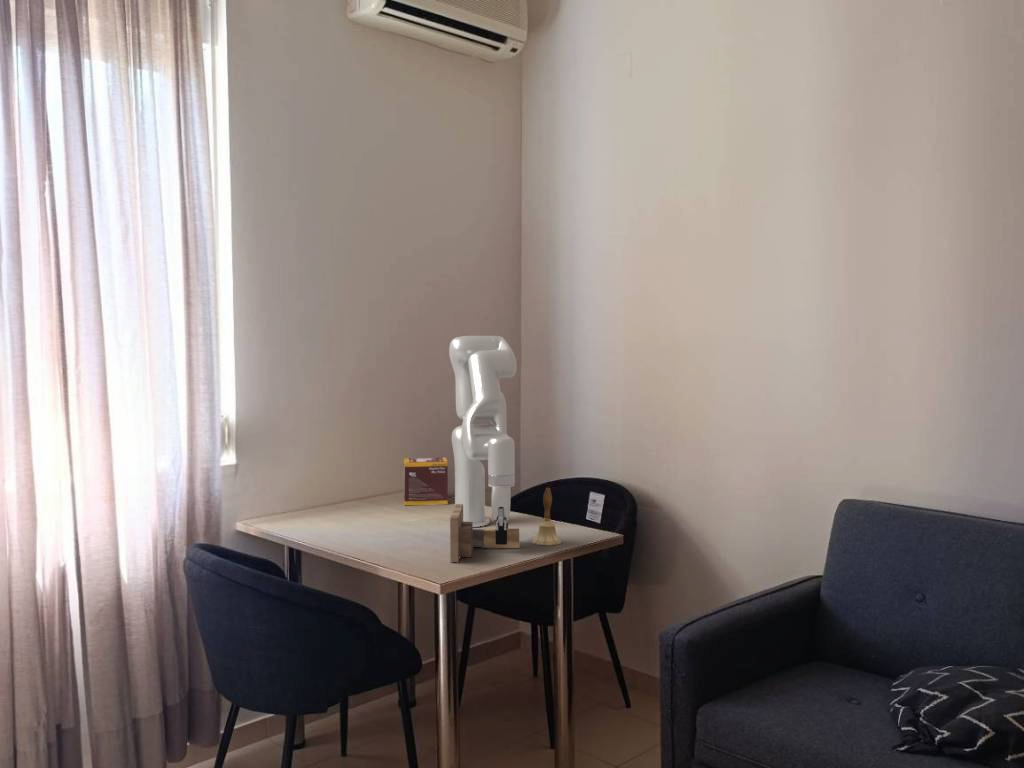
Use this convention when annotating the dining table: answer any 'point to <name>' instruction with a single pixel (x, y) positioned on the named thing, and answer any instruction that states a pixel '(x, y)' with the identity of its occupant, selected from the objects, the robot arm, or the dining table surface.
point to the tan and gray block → (494, 538)
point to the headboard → (460, 535)
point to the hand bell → (547, 524)
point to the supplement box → (425, 481)
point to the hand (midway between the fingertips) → (501, 540)
